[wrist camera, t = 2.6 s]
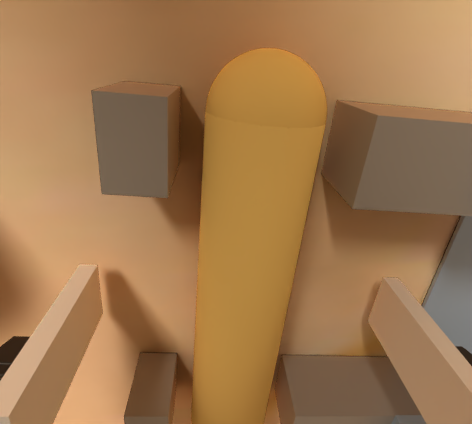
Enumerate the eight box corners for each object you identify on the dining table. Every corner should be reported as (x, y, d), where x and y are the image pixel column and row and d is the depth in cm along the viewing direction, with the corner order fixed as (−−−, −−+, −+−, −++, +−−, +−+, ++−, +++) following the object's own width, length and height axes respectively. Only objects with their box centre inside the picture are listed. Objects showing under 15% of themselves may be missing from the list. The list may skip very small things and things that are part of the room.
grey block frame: (124, 78, 12) (67, 91, 7) (677, 128, 14) (901, 163, 9) (142, 389, 19) (119, 492, 15) (498, 391, 21) (574, 482, 17)
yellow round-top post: (209, 43, 11) (206, 37, 8) (318, 54, 12) (362, 54, 8) (192, 401, 20) (187, 476, 17) (255, 401, 20) (263, 475, 17)
